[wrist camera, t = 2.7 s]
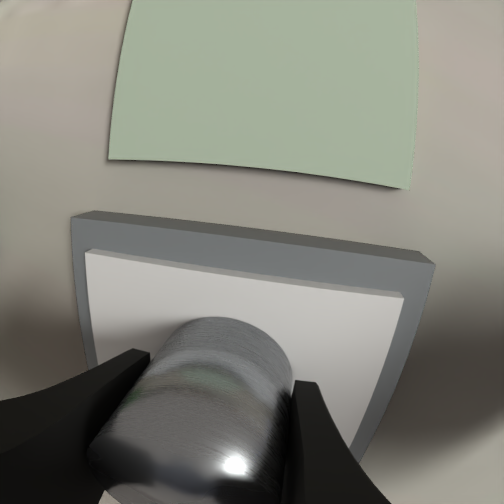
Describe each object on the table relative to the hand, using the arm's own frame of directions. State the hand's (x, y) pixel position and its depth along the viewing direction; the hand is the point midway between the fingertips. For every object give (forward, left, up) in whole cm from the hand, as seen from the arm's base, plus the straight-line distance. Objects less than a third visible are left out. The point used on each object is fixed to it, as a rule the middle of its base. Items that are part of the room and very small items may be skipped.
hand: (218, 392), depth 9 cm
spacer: (0, 0, -1) cm, 1 cm away
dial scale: (0, +5, -3) cm, 5 cm away
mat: (0, -10, -3) cm, 11 cm away
